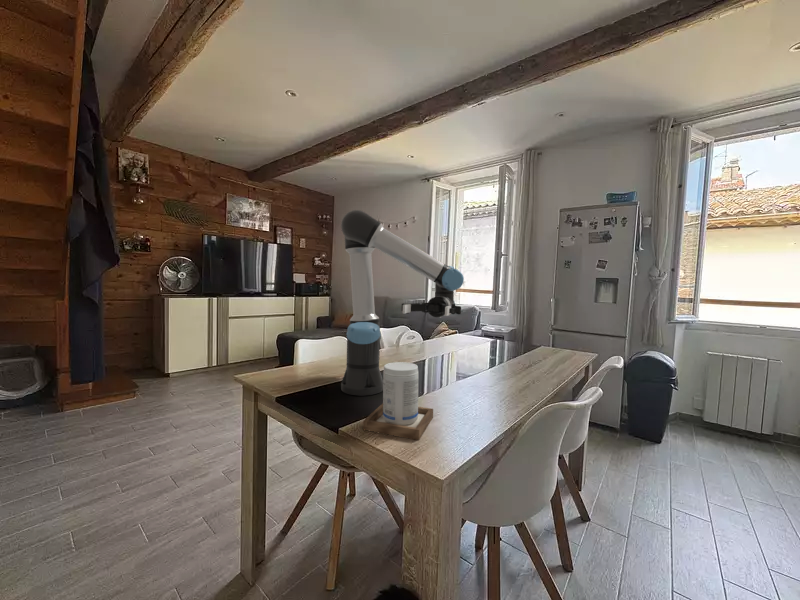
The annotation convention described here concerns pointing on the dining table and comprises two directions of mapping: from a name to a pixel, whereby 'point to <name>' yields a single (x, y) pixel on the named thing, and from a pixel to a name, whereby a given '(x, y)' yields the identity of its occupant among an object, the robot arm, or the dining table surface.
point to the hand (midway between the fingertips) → (424, 310)
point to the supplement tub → (400, 393)
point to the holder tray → (407, 431)
